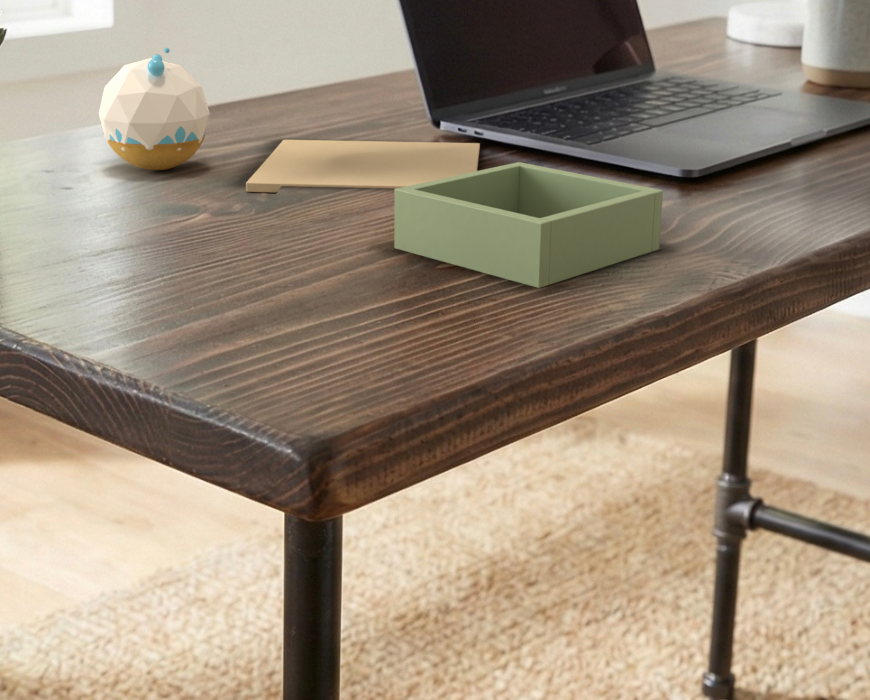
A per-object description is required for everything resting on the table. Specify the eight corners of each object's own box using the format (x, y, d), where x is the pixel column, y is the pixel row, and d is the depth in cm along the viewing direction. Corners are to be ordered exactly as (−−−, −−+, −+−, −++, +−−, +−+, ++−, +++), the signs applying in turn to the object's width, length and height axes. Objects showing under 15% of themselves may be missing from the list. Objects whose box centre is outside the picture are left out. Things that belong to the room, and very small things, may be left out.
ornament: (84, 167, 86) (73, 44, 83) (180, 154, 90) (173, 36, 87) (133, 185, 81) (123, 55, 78) (232, 170, 85) (226, 46, 82)
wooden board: (479, 151, 92) (480, 143, 92) (474, 196, 79) (474, 187, 79) (283, 147, 93) (283, 139, 92) (246, 192, 79) (245, 182, 79)
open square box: (516, 223, 73) (518, 161, 72) (658, 257, 67) (663, 190, 65) (394, 256, 66) (393, 188, 65) (538, 296, 60) (541, 223, 59)
